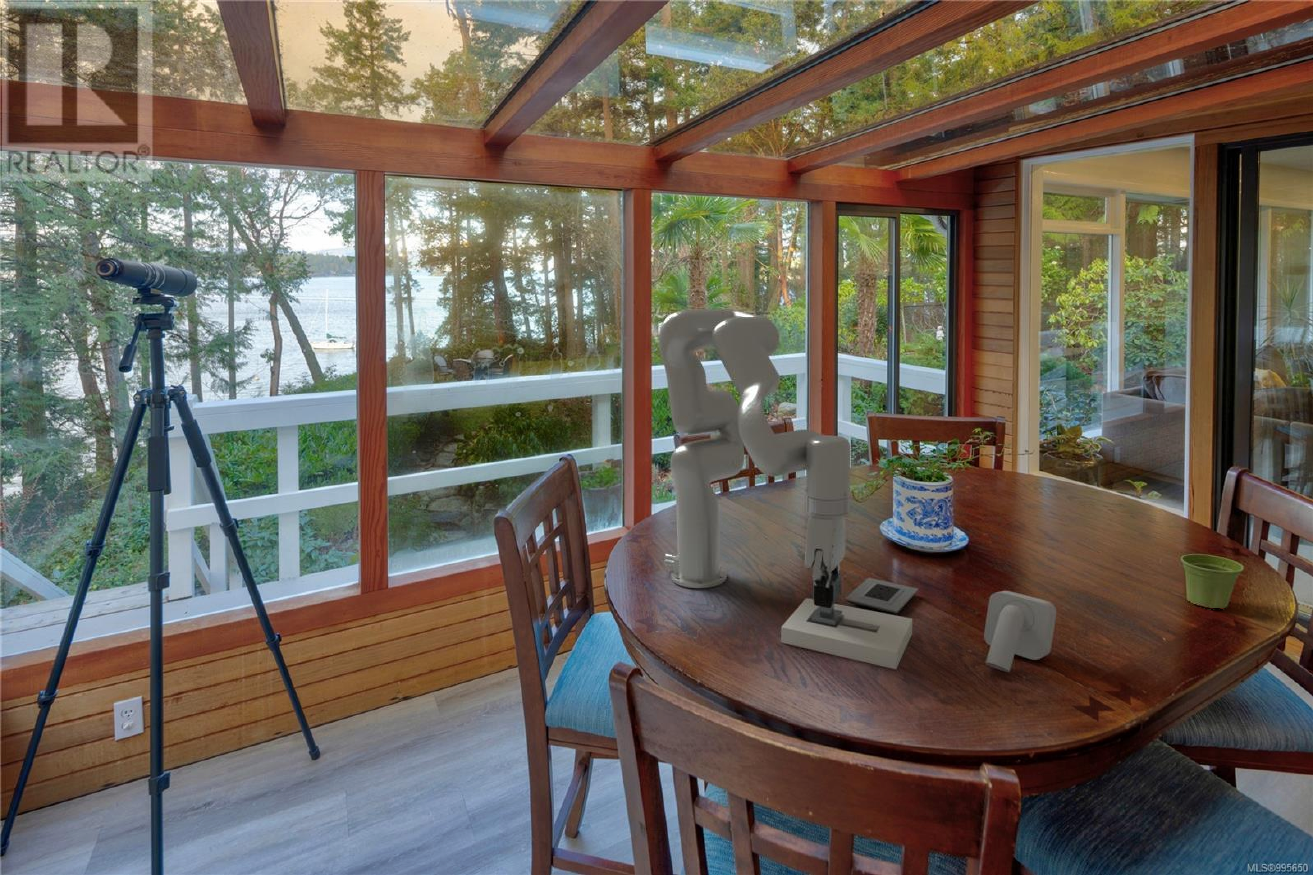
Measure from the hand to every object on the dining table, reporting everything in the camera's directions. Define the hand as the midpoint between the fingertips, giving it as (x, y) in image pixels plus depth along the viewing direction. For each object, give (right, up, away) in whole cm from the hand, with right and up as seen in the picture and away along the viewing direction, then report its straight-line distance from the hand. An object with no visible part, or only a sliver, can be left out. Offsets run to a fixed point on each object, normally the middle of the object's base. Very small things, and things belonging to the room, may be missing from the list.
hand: (826, 600), depth 122 cm
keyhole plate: (+4, -7, -1) cm, 8 cm away
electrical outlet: (+15, -4, +14) cm, 21 cm away
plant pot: (+77, -3, +9) cm, 77 cm away
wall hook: (+28, -8, -10) cm, 31 cm away
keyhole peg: (0, -4, +1) cm, 4 cm away
